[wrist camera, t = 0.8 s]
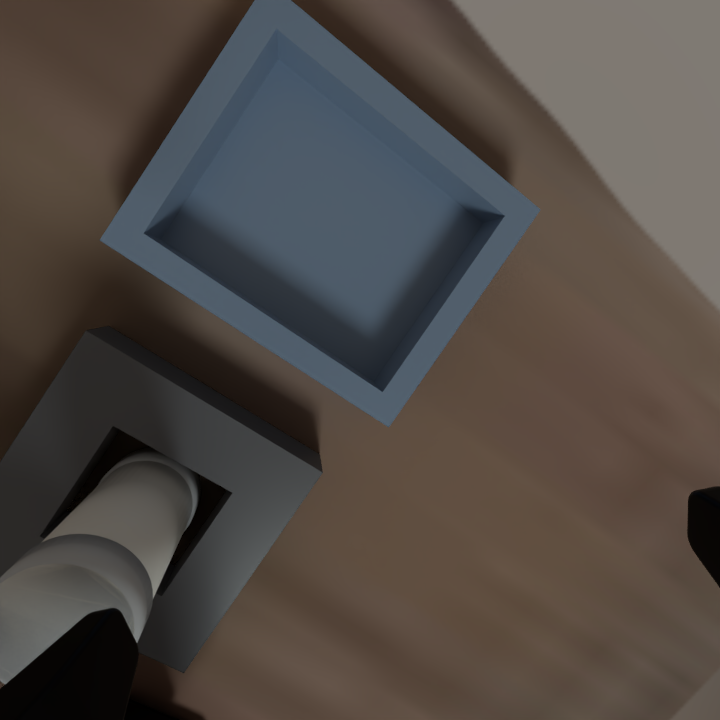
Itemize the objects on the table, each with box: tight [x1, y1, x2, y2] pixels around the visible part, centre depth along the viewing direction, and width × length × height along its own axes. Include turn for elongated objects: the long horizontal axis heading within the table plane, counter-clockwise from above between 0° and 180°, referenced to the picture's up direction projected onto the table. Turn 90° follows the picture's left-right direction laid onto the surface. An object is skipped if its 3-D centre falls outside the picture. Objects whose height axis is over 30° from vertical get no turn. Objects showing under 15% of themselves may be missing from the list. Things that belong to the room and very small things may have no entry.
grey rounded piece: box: [0, 448, 201, 684], centre depth 15 cm, size 4×4×8 cm
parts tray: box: [100, 0, 540, 427], centre depth 17 cm, size 10×12×2 cm
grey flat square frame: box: [0, 326, 323, 673], centre depth 18 cm, size 10×10×2 cm
